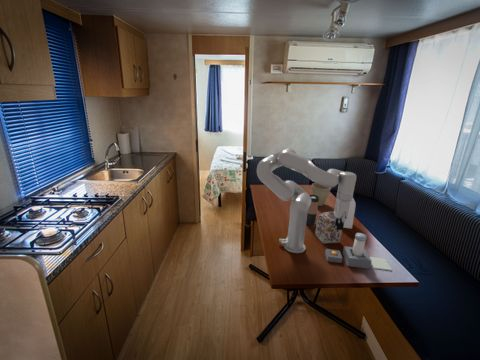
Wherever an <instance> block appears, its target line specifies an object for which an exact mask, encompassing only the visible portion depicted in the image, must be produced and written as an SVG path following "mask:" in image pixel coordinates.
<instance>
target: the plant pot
mask: <svg viewBox="0 0 480 360" xmlns="http://www.w3.org/2000/svg"><path fill="white" fill-rule="evenodd" d="M331 190H332V188H329V187H325V186H322V185H320V184H318V183H315V182H314V183H312V184H311V191H312V194H311V195H316V196H318V197H319V202H318V207H319V206H321V207H322V206H324V204H325V203H326V201H327V199H328V197H329V195H330V192H331Z"/></svg>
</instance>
